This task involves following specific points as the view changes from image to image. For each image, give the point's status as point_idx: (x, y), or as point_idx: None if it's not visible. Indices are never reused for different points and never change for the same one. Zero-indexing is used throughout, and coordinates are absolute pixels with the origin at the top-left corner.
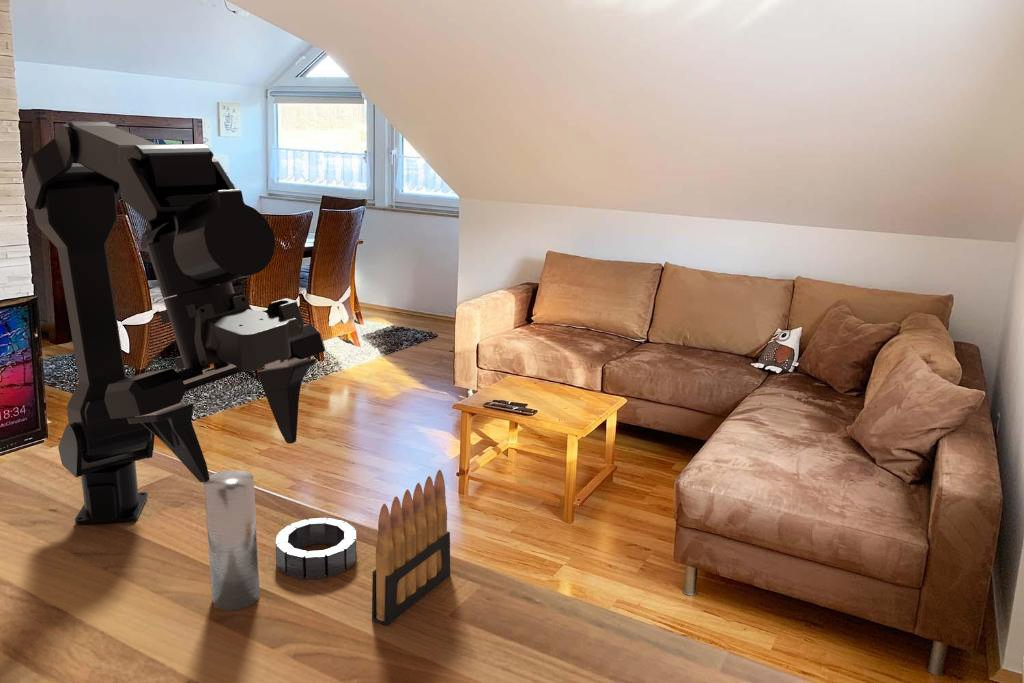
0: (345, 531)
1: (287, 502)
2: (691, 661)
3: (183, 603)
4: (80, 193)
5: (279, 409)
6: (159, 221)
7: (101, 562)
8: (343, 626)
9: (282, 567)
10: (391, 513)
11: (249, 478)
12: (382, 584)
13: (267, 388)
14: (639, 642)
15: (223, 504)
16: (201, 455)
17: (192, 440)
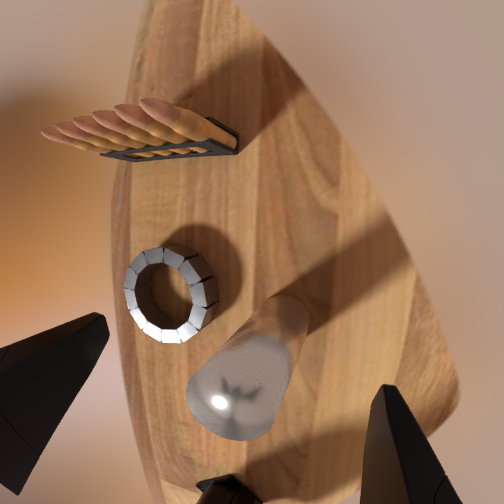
0: (137, 273)
1: (125, 378)
2: None
3: (319, 362)
4: None
5: (49, 393)
6: None
7: (299, 463)
8: (263, 173)
9: (214, 309)
10: (139, 114)
11: (201, 378)
12: (216, 128)
13: (26, 453)
14: None
15: (275, 378)
16: (405, 443)
17: (429, 496)
